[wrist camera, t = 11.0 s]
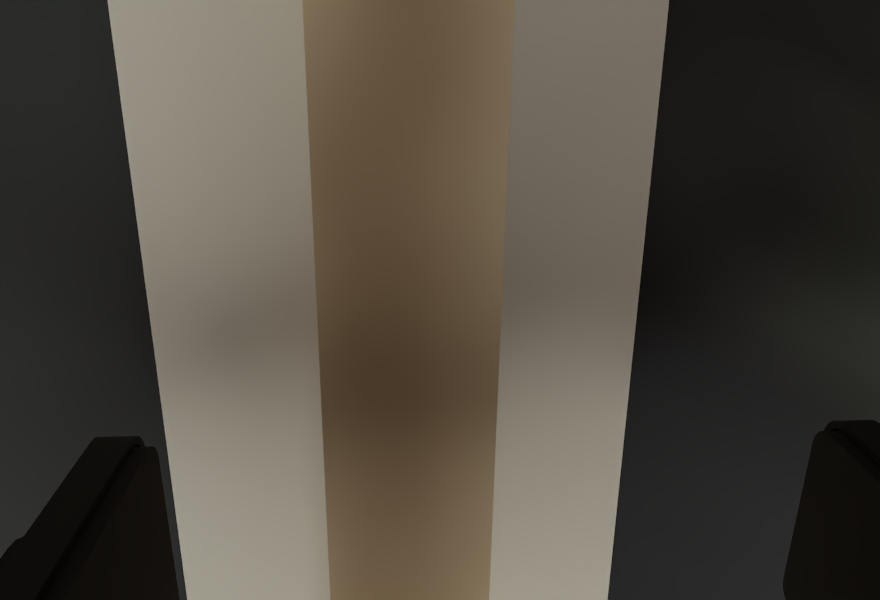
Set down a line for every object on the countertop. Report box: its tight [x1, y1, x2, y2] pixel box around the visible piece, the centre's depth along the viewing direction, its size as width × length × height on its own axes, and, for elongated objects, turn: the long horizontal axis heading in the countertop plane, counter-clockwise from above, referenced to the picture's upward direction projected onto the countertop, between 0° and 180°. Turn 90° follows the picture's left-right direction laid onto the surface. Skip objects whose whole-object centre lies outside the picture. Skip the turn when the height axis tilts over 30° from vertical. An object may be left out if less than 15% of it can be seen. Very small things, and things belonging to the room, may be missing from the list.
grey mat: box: [108, 0, 669, 600], centre depth 16 cm, size 10×24×1 cm, turn 0°
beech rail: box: [302, 0, 515, 600], centre depth 14 cm, size 3×20×3 cm, turn 179°
